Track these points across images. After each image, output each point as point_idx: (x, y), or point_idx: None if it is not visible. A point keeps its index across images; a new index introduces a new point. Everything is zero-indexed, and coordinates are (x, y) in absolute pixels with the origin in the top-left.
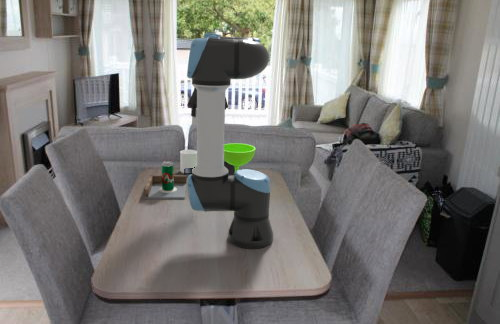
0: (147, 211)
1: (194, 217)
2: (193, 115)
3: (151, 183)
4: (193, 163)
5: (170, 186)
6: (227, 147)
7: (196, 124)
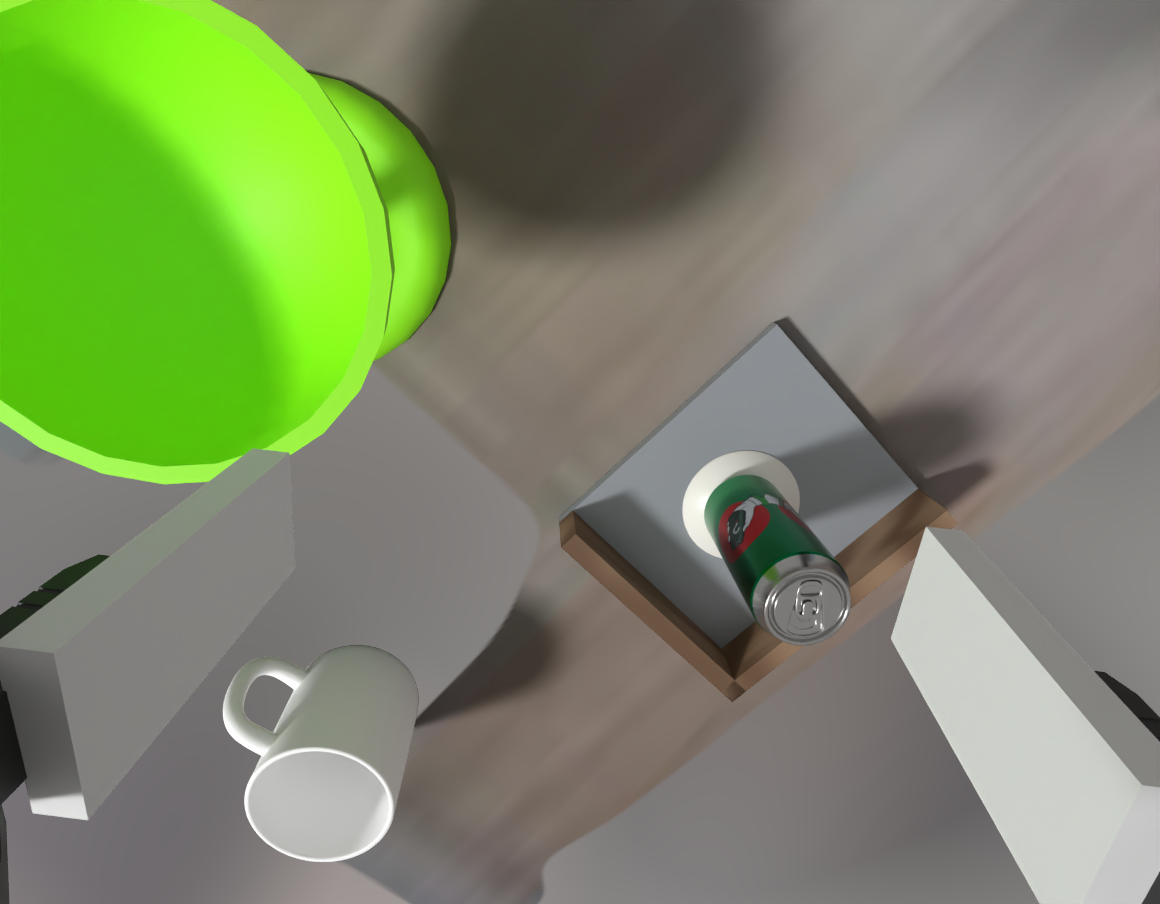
0: (1066, 332)
1: (989, 17)
2: (1131, 695)
3: None
4: (348, 691)
5: (764, 485)
6: (162, 445)
7: (960, 537)
